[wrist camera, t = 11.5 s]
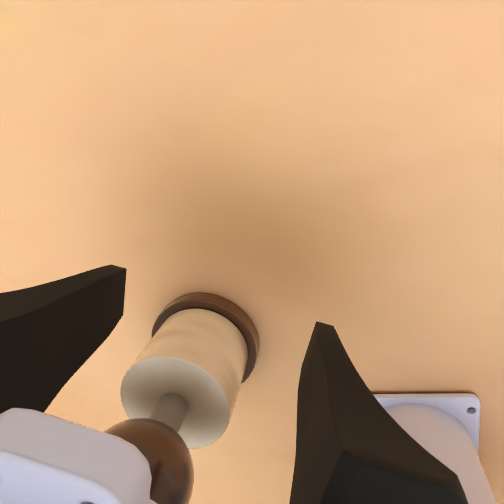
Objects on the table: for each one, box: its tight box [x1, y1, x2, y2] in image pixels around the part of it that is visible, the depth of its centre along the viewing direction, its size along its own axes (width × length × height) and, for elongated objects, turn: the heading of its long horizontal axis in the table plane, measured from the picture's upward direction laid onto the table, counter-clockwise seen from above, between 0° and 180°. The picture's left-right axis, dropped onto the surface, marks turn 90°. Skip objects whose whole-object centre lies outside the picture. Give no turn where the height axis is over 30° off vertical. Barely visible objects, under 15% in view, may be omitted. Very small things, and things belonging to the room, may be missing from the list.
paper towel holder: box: [104, 293, 259, 504], centre depth 20 cm, size 7×7×13 cm
